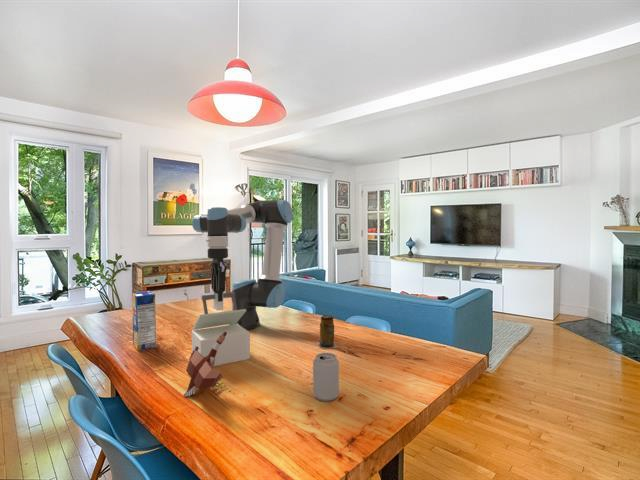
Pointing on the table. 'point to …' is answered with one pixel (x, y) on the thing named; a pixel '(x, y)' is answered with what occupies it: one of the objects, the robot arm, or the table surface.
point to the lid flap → (220, 317)
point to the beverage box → (144, 320)
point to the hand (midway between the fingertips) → (218, 309)
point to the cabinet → (230, 349)
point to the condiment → (327, 333)
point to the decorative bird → (204, 369)
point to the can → (326, 376)
